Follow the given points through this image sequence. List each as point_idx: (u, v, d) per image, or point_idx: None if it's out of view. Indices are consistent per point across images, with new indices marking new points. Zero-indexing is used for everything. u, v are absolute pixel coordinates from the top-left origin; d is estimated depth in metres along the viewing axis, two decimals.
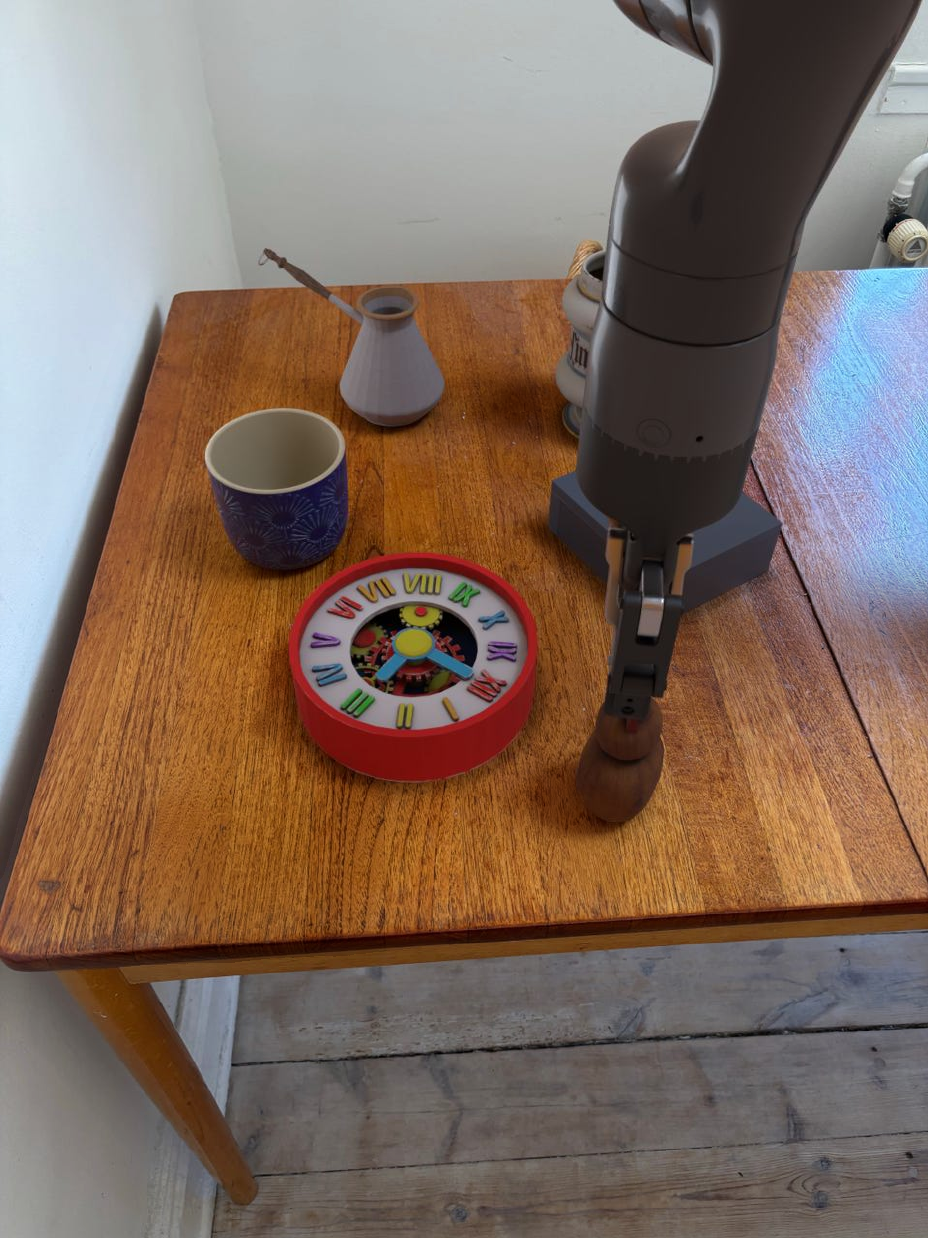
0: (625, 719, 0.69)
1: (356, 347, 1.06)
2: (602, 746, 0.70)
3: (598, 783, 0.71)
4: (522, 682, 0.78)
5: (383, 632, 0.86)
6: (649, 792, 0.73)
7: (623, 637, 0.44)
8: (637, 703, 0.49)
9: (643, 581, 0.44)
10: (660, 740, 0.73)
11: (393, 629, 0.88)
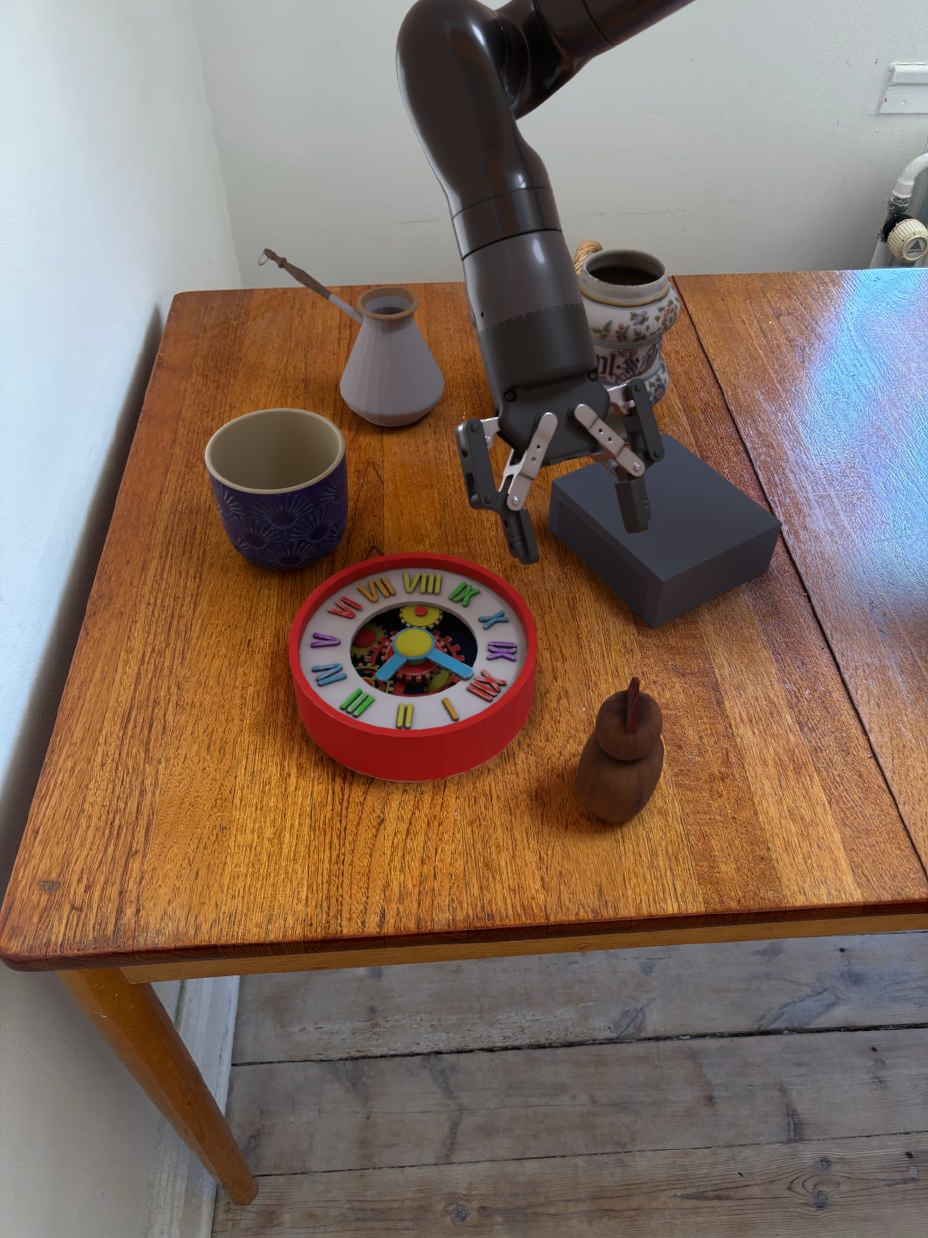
0: (625, 719, 0.69)
1: (356, 347, 1.06)
2: (602, 746, 0.70)
3: (598, 783, 0.71)
4: (522, 682, 0.78)
5: (383, 632, 0.86)
6: (649, 792, 0.73)
7: (459, 453, 0.68)
8: (511, 537, 0.68)
9: None
10: (660, 740, 0.73)
11: (393, 629, 0.88)
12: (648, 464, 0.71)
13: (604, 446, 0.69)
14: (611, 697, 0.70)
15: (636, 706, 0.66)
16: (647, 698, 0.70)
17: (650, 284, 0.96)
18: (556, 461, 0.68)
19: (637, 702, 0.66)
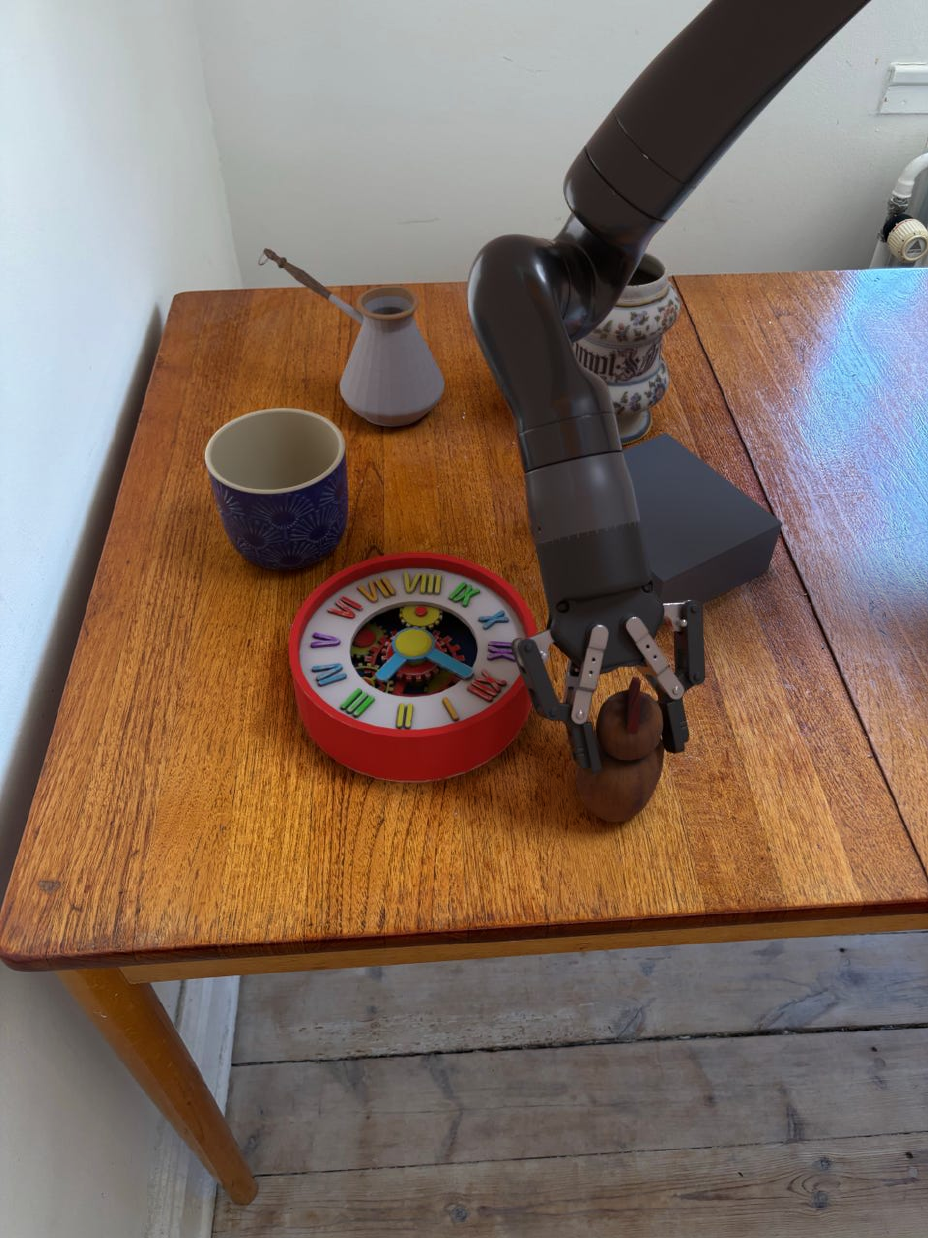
0: (626, 719, 0.69)
1: (356, 347, 1.06)
2: (602, 746, 0.70)
3: (599, 783, 0.71)
4: (522, 682, 0.78)
5: (383, 632, 0.86)
6: (649, 792, 0.73)
7: (519, 668, 0.70)
8: (574, 748, 0.70)
9: (533, 635, 0.70)
10: (660, 740, 0.73)
11: (393, 629, 0.88)
12: (688, 686, 0.71)
13: (648, 662, 0.70)
14: (612, 697, 0.70)
15: (637, 706, 0.66)
16: (648, 698, 0.70)
17: (650, 284, 0.96)
18: (606, 670, 0.70)
19: (638, 702, 0.66)
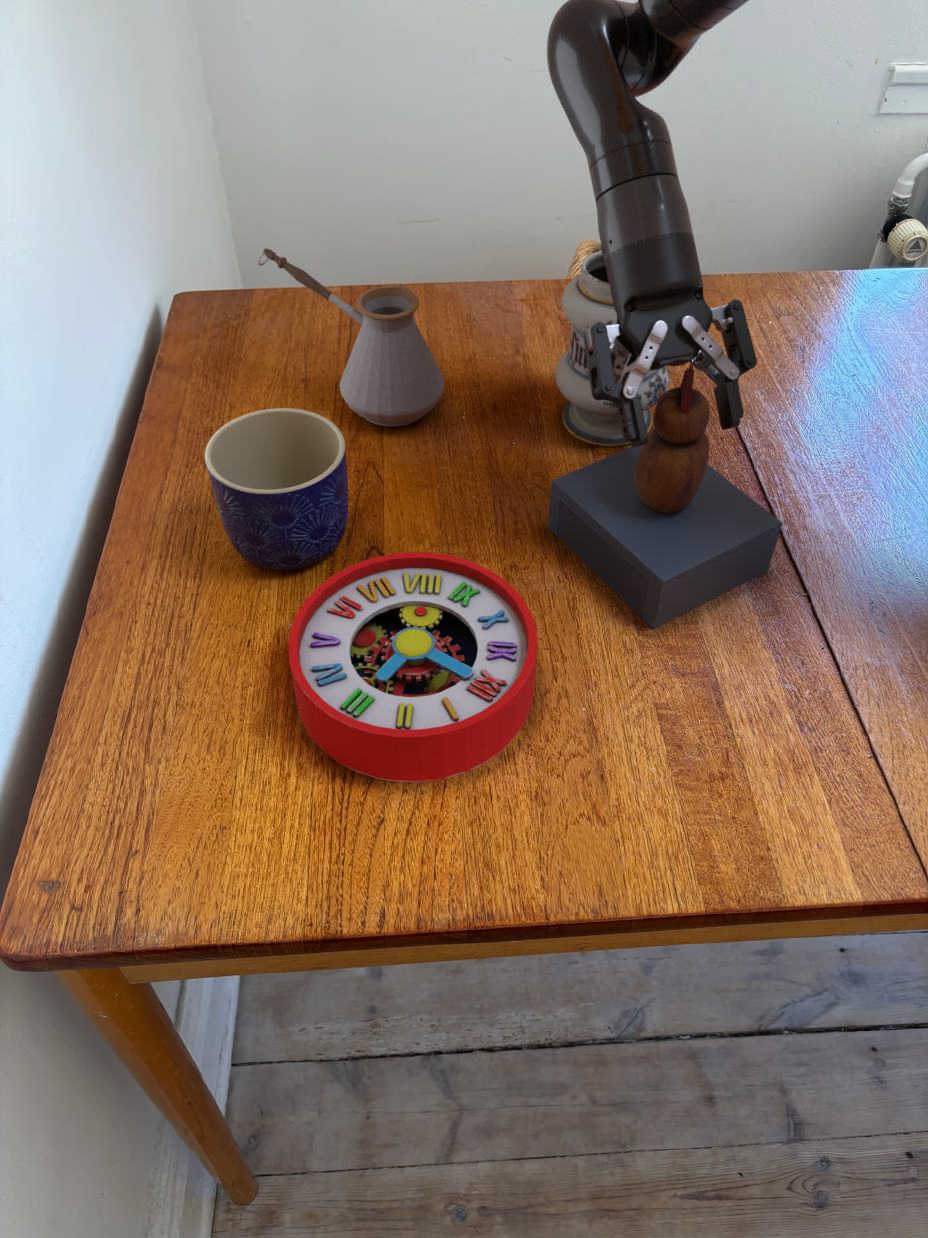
0: (679, 403, 0.84)
1: (356, 347, 1.06)
2: (660, 431, 0.85)
3: (656, 465, 0.86)
4: (522, 682, 0.78)
5: (383, 632, 0.86)
6: (697, 477, 0.88)
7: (586, 354, 0.85)
8: (625, 421, 0.84)
9: None
10: (706, 436, 0.88)
11: (393, 629, 0.88)
12: (743, 370, 0.86)
13: (705, 352, 0.84)
14: (667, 391, 0.85)
15: (690, 382, 0.81)
16: (697, 391, 0.85)
17: None
18: (665, 362, 0.84)
19: (691, 378, 0.81)
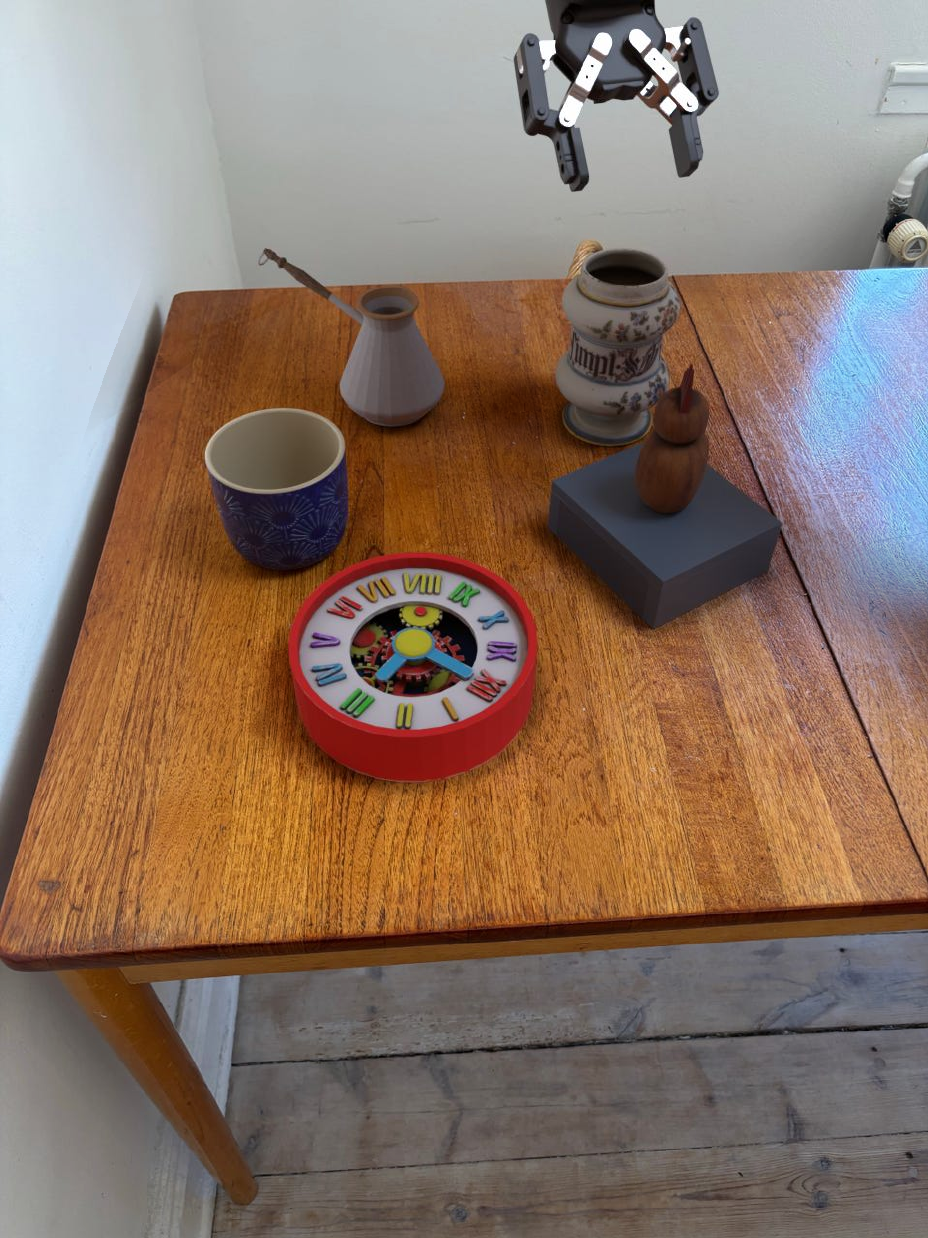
0: (679, 403, 0.84)
1: (356, 347, 1.06)
2: (659, 431, 0.85)
3: (656, 465, 0.86)
4: (522, 682, 0.78)
5: (383, 632, 0.86)
6: (697, 477, 0.88)
7: (517, 79, 0.72)
8: (562, 157, 0.71)
9: None
10: (706, 436, 0.88)
11: (393, 629, 0.88)
12: (702, 104, 0.73)
13: (657, 75, 0.71)
14: (667, 391, 0.85)
15: (690, 382, 0.81)
16: (696, 391, 0.85)
17: (650, 284, 0.96)
18: (609, 86, 0.71)
19: (691, 377, 0.81)
